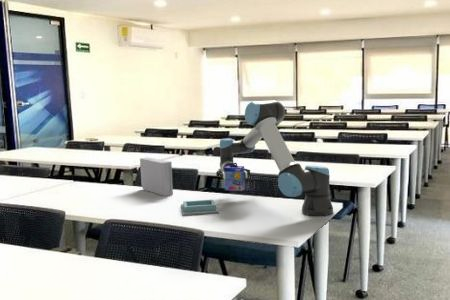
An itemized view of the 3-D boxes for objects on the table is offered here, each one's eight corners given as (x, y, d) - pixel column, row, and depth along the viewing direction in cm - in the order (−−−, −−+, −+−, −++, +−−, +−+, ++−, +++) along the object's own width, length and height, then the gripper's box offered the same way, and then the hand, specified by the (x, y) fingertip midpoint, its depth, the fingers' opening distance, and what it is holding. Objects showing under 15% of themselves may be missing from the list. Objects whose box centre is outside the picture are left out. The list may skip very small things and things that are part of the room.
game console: (164, 196, 290) (163, 163, 287) (141, 189, 311) (139, 158, 308) (173, 194, 294) (171, 161, 291) (149, 188, 315) (147, 157, 312)
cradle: (218, 213, 248) (218, 206, 248) (183, 215, 246) (182, 209, 246) (214, 203, 268) (214, 197, 268) (181, 206, 266) (180, 199, 265)
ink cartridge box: (224, 190, 257) (223, 163, 255) (226, 188, 262) (226, 161, 260) (243, 190, 254) (242, 163, 252) (245, 188, 260) (244, 161, 258)
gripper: (250, 174, 277) (258, 181, 255) (209, 176, 274) (213, 184, 252) (249, 160, 276) (257, 167, 254) (208, 163, 273) (212, 170, 251)
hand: (235, 175), depth 253 cm, fingers closed on ink cartridge box, 11 cm apart
